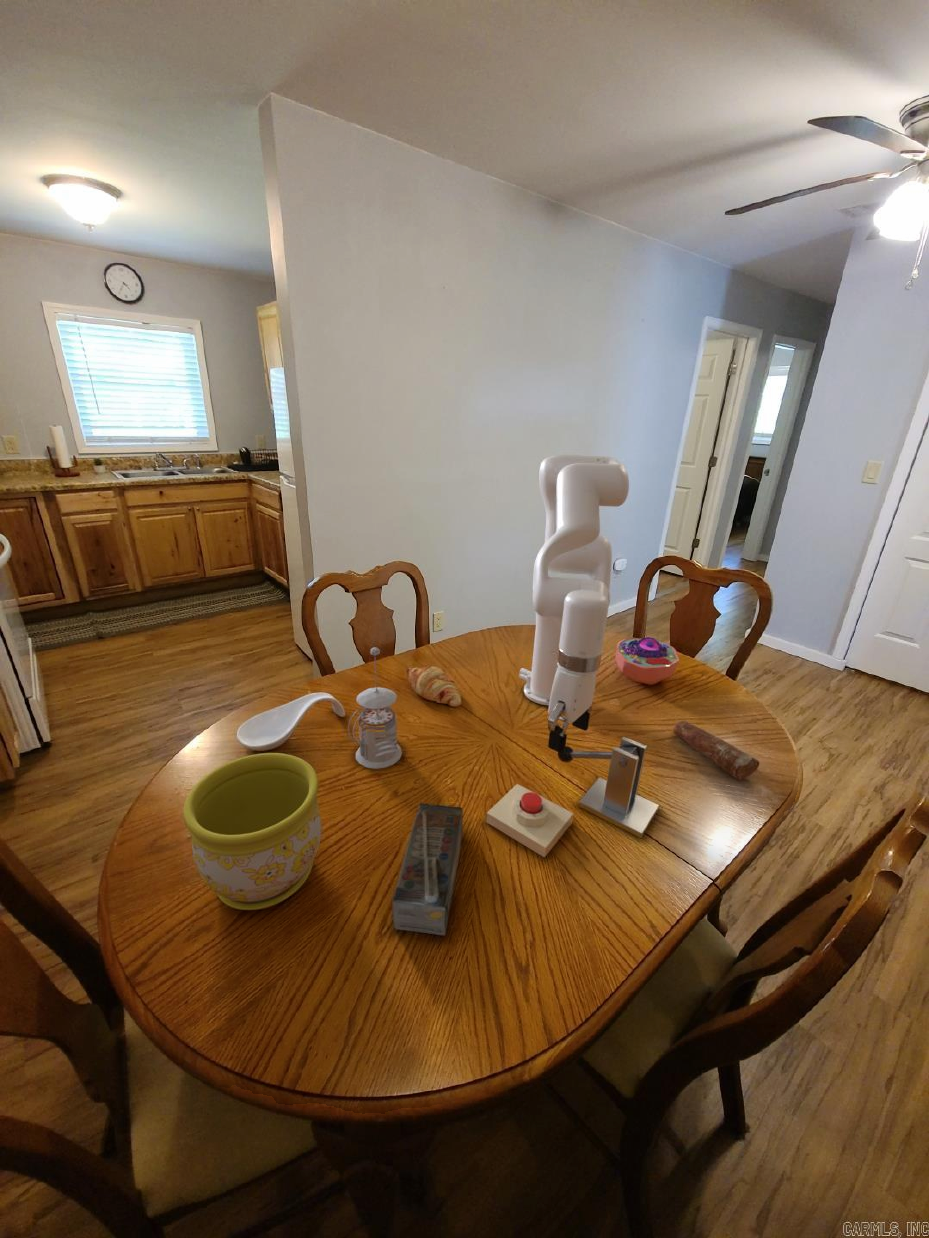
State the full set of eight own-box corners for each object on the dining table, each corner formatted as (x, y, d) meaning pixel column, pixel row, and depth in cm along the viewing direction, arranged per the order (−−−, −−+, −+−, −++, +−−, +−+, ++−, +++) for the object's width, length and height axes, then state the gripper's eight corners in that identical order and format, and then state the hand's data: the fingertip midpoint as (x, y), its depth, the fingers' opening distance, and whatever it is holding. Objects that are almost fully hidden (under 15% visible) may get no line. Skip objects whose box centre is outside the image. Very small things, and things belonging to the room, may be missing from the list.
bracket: (578, 806, 94) (587, 745, 89) (598, 781, 101) (608, 723, 96) (641, 838, 87) (655, 775, 82) (658, 809, 94) (672, 749, 89)
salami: (737, 787, 101) (744, 764, 99) (667, 734, 117) (671, 714, 115) (759, 779, 103) (766, 757, 101) (687, 728, 119) (692, 708, 117)
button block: (486, 822, 90) (487, 804, 88) (516, 792, 97) (517, 776, 95) (544, 857, 83) (546, 839, 81) (572, 822, 90) (574, 805, 89)
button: (516, 807, 88) (517, 800, 88) (527, 796, 91) (528, 789, 90) (534, 817, 86) (535, 809, 86) (544, 806, 89) (545, 798, 88)
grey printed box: (390, 930, 70) (389, 897, 68) (418, 827, 88) (418, 798, 85) (446, 939, 69) (447, 905, 67) (463, 833, 87) (464, 803, 85)
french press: (411, 753, 107) (410, 648, 97) (367, 779, 99) (361, 667, 89) (382, 734, 113) (379, 633, 103) (338, 757, 105) (330, 650, 96)
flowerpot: (291, 940, 69) (279, 850, 62) (174, 915, 71) (150, 827, 65) (343, 839, 85) (337, 760, 79) (246, 822, 88) (233, 744, 81)
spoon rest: (252, 767, 101) (247, 737, 98) (230, 740, 109) (225, 712, 106) (353, 723, 117) (352, 696, 114) (327, 702, 124) (325, 677, 122)
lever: (557, 765, 98) (552, 750, 98) (564, 757, 101) (560, 742, 100) (634, 768, 88) (630, 752, 87) (641, 760, 90) (636, 743, 90)
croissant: (467, 716, 127) (479, 688, 126) (441, 714, 119) (454, 683, 119) (415, 683, 140) (425, 657, 140) (389, 679, 133) (400, 651, 132)
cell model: (600, 682, 139) (606, 645, 135) (624, 656, 154) (630, 623, 150) (663, 702, 130) (671, 663, 126) (681, 673, 145) (689, 637, 141)
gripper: (581, 638, 99) (571, 713, 105) (536, 668, 86) (528, 751, 92) (617, 649, 94) (605, 726, 101) (576, 682, 82) (564, 768, 88)
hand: (568, 738), depth 96 cm, fingers open, 9 cm apart
